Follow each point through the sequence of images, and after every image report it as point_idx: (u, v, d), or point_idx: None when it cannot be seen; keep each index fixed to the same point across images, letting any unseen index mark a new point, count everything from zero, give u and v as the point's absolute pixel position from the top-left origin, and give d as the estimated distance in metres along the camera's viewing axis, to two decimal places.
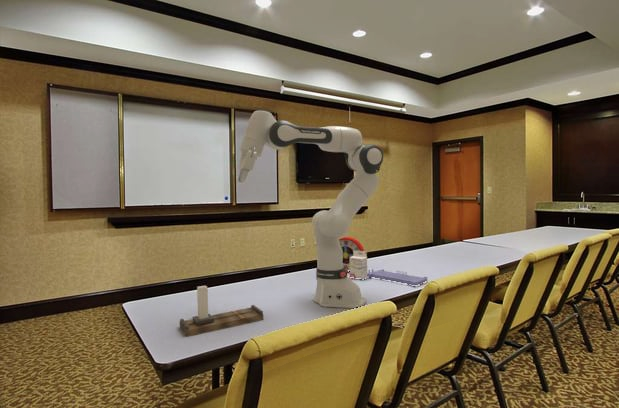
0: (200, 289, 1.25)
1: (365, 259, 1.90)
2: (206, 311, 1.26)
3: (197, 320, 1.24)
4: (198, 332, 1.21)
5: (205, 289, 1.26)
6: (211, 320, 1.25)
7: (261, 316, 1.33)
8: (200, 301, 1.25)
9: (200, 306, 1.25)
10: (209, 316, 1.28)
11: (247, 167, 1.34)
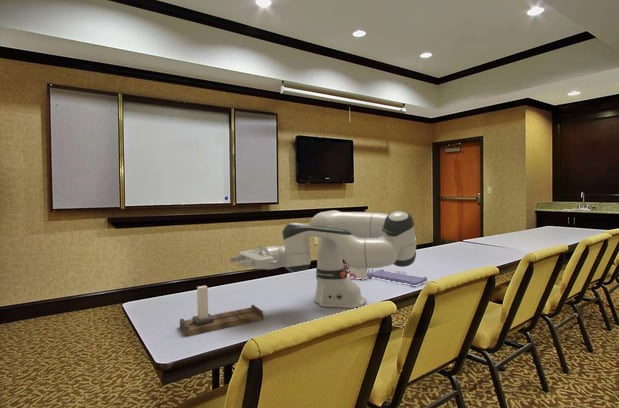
0: (200, 289, 1.25)
1: None
2: (206, 311, 1.26)
3: (197, 320, 1.24)
4: (198, 332, 1.21)
5: (205, 289, 1.26)
6: (211, 320, 1.25)
7: (261, 316, 1.33)
8: (200, 301, 1.25)
9: (200, 306, 1.25)
10: (209, 316, 1.28)
11: (258, 263, 1.27)
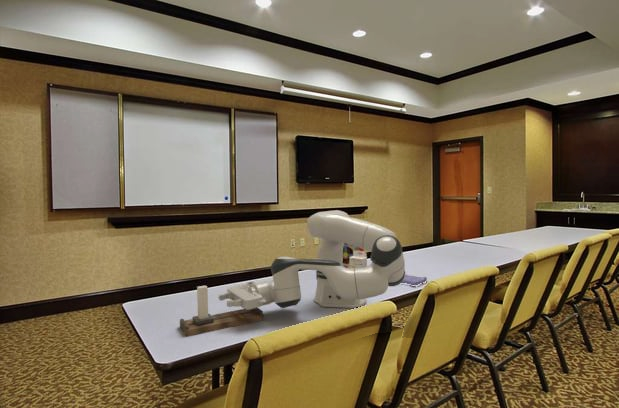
0: (200, 289, 1.25)
1: (365, 259, 1.90)
2: (206, 311, 1.26)
3: (197, 320, 1.24)
4: (198, 332, 1.21)
5: (205, 289, 1.26)
6: (211, 320, 1.25)
7: (261, 316, 1.33)
8: (200, 301, 1.25)
9: (200, 306, 1.25)
10: (209, 316, 1.28)
11: (246, 304, 1.24)
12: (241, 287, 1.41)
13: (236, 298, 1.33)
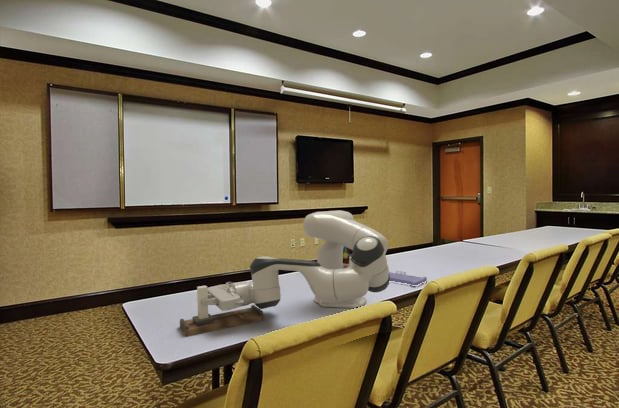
0: (200, 289, 1.25)
1: None
2: (206, 311, 1.26)
3: (197, 320, 1.24)
4: (198, 332, 1.21)
5: (205, 289, 1.26)
6: (211, 320, 1.25)
7: (261, 316, 1.33)
8: (200, 301, 1.25)
9: (200, 306, 1.25)
10: (209, 316, 1.28)
11: (223, 305, 1.20)
12: (220, 287, 1.37)
13: None
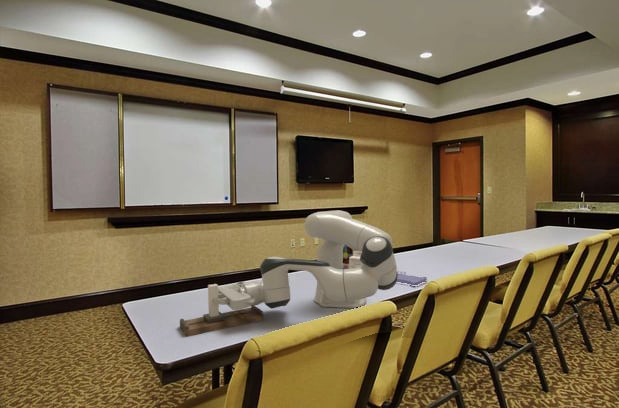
0: (211, 287, 1.27)
1: None
2: (217, 309, 1.28)
3: (208, 318, 1.26)
4: (198, 332, 1.21)
5: (216, 287, 1.28)
6: (222, 318, 1.27)
7: (261, 316, 1.33)
8: (211, 299, 1.27)
9: (211, 304, 1.27)
10: (220, 314, 1.30)
11: (234, 304, 1.22)
12: (231, 287, 1.39)
13: (225, 298, 1.32)
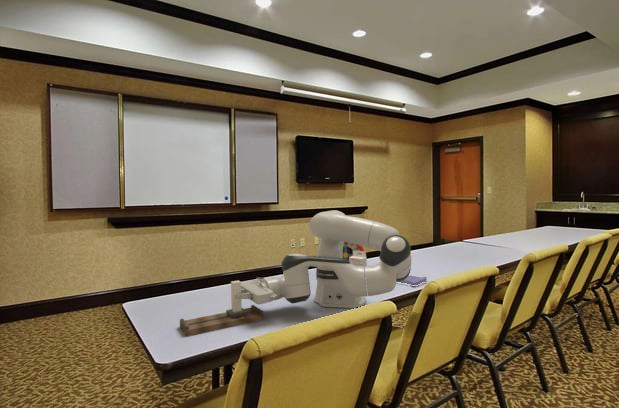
0: (234, 284, 1.31)
1: (364, 259, 1.90)
2: (240, 305, 1.33)
3: (232, 313, 1.31)
4: (198, 332, 1.21)
5: (239, 284, 1.32)
6: (244, 313, 1.32)
7: (261, 316, 1.33)
8: (234, 295, 1.32)
9: (234, 300, 1.32)
10: (242, 309, 1.34)
11: (258, 299, 1.27)
12: (252, 282, 1.44)
13: (247, 293, 1.37)
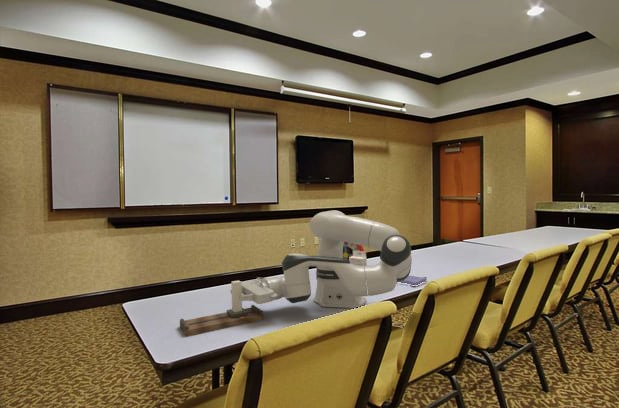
0: (235, 284, 1.31)
1: (364, 259, 1.90)
2: (240, 305, 1.33)
3: (232, 313, 1.31)
4: (198, 332, 1.21)
5: (239, 284, 1.32)
6: (245, 313, 1.32)
7: (261, 316, 1.33)
8: (235, 295, 1.32)
9: (235, 300, 1.32)
10: (242, 309, 1.34)
11: (259, 299, 1.27)
12: (252, 282, 1.44)
13: (248, 292, 1.37)
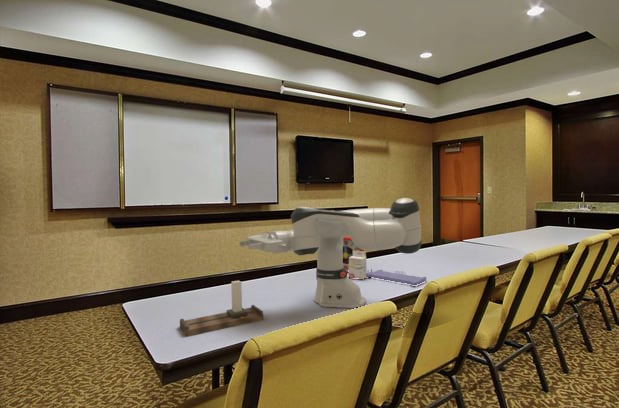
0: (235, 284, 1.31)
1: (364, 259, 1.90)
2: (240, 305, 1.33)
3: (232, 313, 1.31)
4: (198, 332, 1.21)
5: (239, 284, 1.32)
6: (245, 313, 1.32)
7: (261, 316, 1.33)
8: (235, 295, 1.32)
9: (235, 300, 1.32)
10: (242, 309, 1.34)
11: (268, 246, 1.28)
12: (260, 236, 1.45)
13: None
